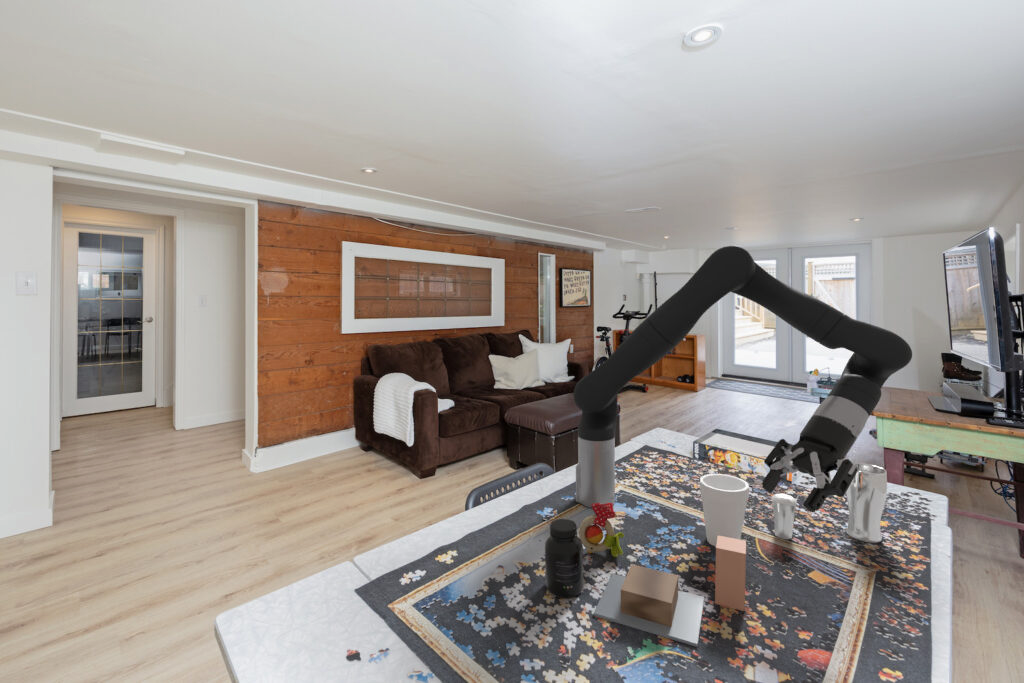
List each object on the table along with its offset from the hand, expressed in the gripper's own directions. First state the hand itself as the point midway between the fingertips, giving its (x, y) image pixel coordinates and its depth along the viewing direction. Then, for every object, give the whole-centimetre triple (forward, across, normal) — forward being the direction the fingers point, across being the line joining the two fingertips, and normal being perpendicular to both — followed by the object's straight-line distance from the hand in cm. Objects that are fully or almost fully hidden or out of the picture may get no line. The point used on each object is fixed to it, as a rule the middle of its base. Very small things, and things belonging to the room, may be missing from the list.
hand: (786, 499), depth 81 cm
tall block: (+20, 0, +2) cm, 20 cm away
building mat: (+29, -3, -8) cm, 31 cm away
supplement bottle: (+37, -13, -17) cm, 43 cm away
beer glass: (-9, -8, +33) cm, 35 cm away
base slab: (+29, -3, -9) cm, 30 cm away
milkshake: (+2, -13, +22) cm, 26 cm away
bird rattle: (+29, -21, -8) cm, 36 cm away
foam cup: (+11, -16, +11) cm, 23 cm away
